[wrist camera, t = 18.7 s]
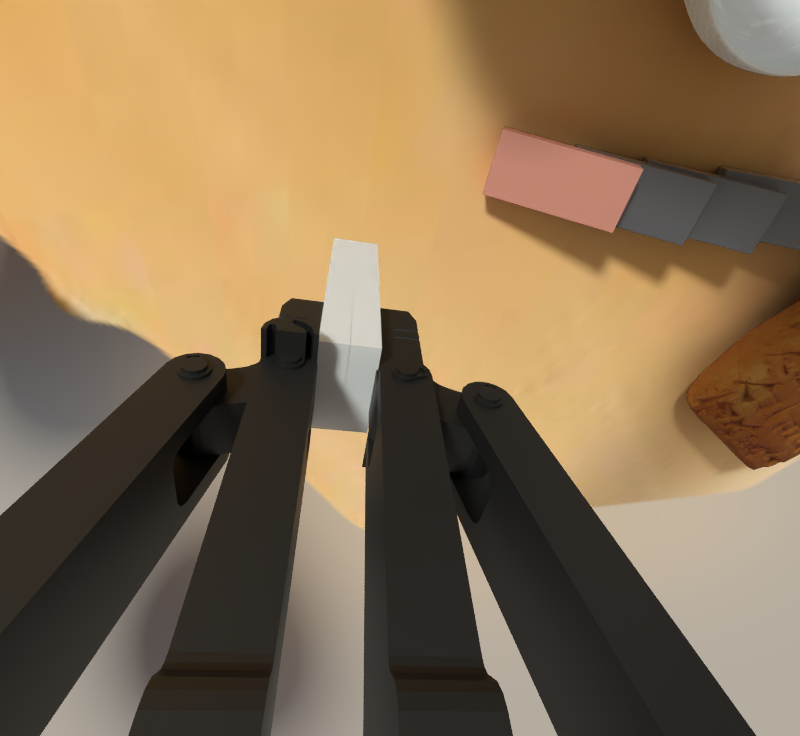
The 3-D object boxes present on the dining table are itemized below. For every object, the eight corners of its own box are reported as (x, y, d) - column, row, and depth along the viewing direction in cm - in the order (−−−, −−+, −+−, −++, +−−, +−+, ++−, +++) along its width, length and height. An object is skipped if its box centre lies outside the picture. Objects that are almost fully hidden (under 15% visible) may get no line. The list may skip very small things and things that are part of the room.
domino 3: (649, 160, 39) (788, 195, 38) (644, 156, 41) (778, 189, 40) (621, 220, 42) (750, 254, 41) (618, 214, 44) (743, 246, 42)
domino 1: (502, 129, 37) (643, 169, 36) (504, 126, 39) (639, 165, 38) (482, 194, 40) (612, 232, 39) (484, 189, 41) (610, 226, 40)
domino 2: (577, 147, 38) (717, 184, 37) (576, 143, 40) (710, 179, 39) (553, 209, 41) (682, 245, 40) (552, 203, 43) (677, 238, 41)
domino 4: (727, 170, 40) (872, 197, 38) (720, 165, 41) (859, 191, 40) (698, 228, 43) (832, 256, 41) (692, 222, 44) (821, 249, 43)
